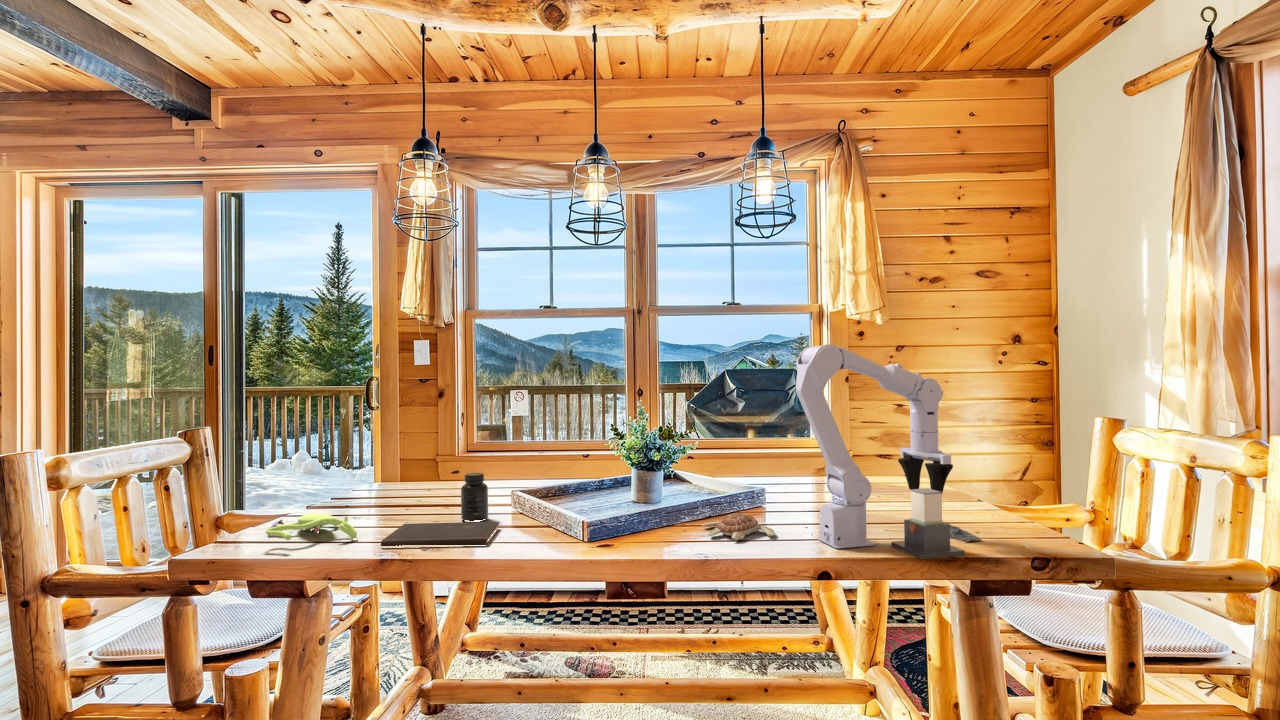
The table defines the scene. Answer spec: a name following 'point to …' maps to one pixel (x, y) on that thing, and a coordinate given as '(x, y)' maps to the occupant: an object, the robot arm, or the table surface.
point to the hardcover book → (441, 534)
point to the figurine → (311, 525)
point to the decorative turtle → (737, 526)
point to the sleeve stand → (927, 541)
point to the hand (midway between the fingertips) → (925, 492)
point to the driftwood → (961, 534)
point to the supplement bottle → (474, 498)
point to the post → (926, 506)
